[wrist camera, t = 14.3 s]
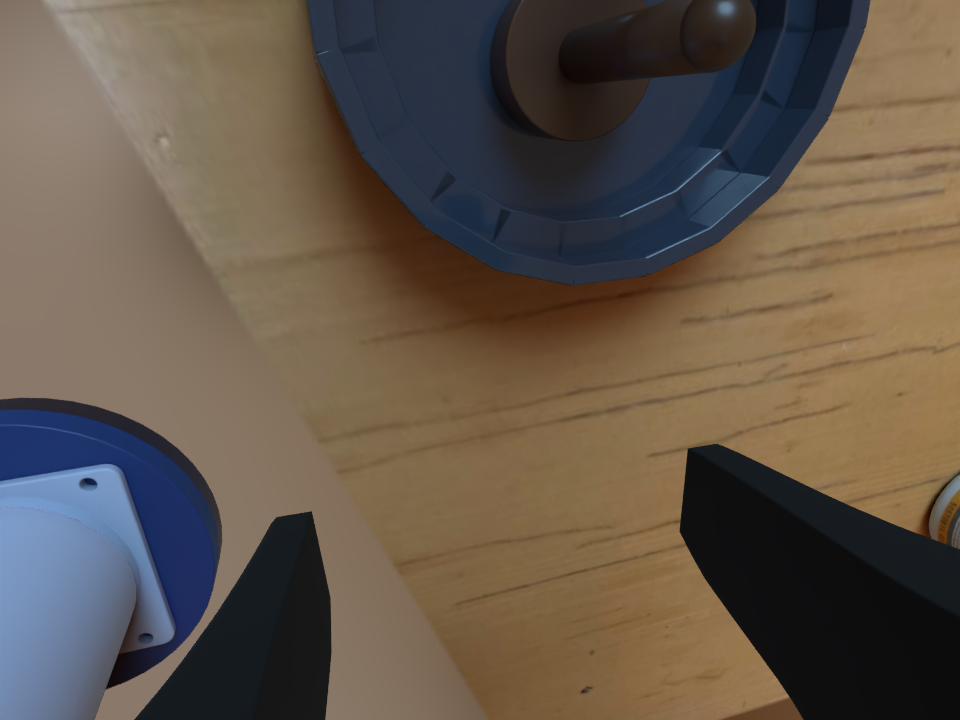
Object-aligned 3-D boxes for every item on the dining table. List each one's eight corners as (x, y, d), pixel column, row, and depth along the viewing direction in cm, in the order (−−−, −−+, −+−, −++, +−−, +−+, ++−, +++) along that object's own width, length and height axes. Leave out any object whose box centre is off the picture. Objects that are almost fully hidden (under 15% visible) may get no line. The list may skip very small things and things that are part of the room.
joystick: (505, 153, 19) (633, 184, 11) (476, -10, 17) (606, -106, 9) (636, 121, 19) (842, 129, 12) (622, -40, 17) (855, -153, 10)
